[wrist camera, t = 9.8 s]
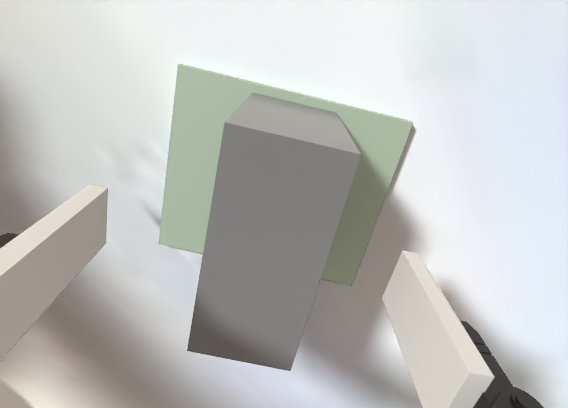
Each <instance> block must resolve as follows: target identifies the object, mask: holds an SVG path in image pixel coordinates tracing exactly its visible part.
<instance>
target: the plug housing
mask: <svg viewBox="0 0 568 408" xmlns="http://www.w3.org/2000/svg"><path fill="white" fill-rule="evenodd" d="M360 156H361V153H360V152H359V150H358V148H357V147H356V145H355V143H354V142H353V140H352V138H351V137H350V135H349V133H348V131H347V130H346V128H345V126H344V125H343V123H342V121H341V120H340V118H339V116H338V115H337V113H336V112H332V111H328V110H324V109H320V108H315V107H311V106H307V105H303V104H299V103H295V102H291V101H287V100H282V99H278V98H274V97H270V96H266V95H262V94H258V93H254V92H253V93H252V94H251V95H250V96H249V97H248V98H247V99H246V100H245V101H244V102H243V103H242V104H241V105H240V106H239V107H238V109H237V110H236V111H235V112H234V113H233V114H232V115H231V116H230V117H229V118H228V119H227V120H226V121H225V122H224V129H223V135H222V141H221V147H220V153H219V159H218V165H217V171H216V178H215V184H214V190H213V196H212V202H211V208H210V214H209V220H208V227H207V233H206V239H205V245H204V251H203V257H202V263H201V269H200V276H199V282H198V288H197V294H196V300H195V306H194V312H193V318H192V325H191V331H190V337H189V343H188V349H187V351H191V352H196V353H201V354H206V355H211V356H216V357H222V358H227V359H232V360H237V361H242V362H247V363H252V364H257V365H262V366H267V367H273V368H278V369H283V370H288V371H291V368H292V365H293V361H294V358H295V355H296V352H297V349H298V346H299V343H300V340H301V337H302V334H303V331H304V328H305V325H306V322H307V319H308V316H309V313H310V309H311V306H312V303H313V300H314V297H315V294H316V291H317V288H318V285H319V282H320V279H321V276H322V273H323V270H324V267H325V264H326V260H327V257H328V254H329V251H330V248H331V245H332V242H333V239H334V236H335V233H336V230H337V227H338V224H339V221H340V218H341V215H342V212H343V208H344V205H345V202H346V199H347V196H348V193H349V190H350V187H351V184H352V181H353V178H354V175H355V172H356V169H357V166H358V163H359V160H360Z"/></svg>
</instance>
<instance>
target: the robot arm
mask: <svg viewBox="0 0 568 408" xmlns="http://www.w3.org/2000/svg"><path fill="white" fill-rule="evenodd" d="M107 197H108V188H106V187H101V186H96V185H91V184H89V185H87V186H86V187H84V188H83V189H82V190H80V191H79V192H78V193H76V194H75V195H73V196H72V197H71V198H69V199H68V200H67V201H65V202H64V203H62V204H61V205H60V206H58V207H57V208H55V209H54V210H53V211H51V212H50V213H49V214H47V215H46V216H44V217H43V218H42V219H40V220H39V221H38V222H36V223H35V224H33V225H32V226H31V227H29V228H28V229H26V230H25V231H24V232H22V233H21V234H20V235H17V234H12V233H7V234H4V235H2V236H0V361H1V360H2V358H3V357H4V356H5V355H6V354H7V353H8V352H9V351H10V350H11V348H12V347H13V346H14V345H15V344H16V343H17V342H18V341H19V340H20V338H21V337H22V336H23V335H24V334H25V333H26V332H27V331H28V329H29V328H30V327H31V326H32V325H33V324H34V323H35V322H36V321H37V319H38V318H39V317H40V316H41V315H42V314H43V313H44V312H45V310H46V309H47V308H48V307H49V306H50V305H51V304H52V303H53V302H54V300H55V299H56V298H57V297H58V296H59V295H60V294H61V293H62V292H63V290H64V289H65V288H66V287H67V286H68V285H69V284H70V283H71V281H72V280H73V279H74V278H75V277H76V276H77V275H78V274H79V273H80V271H81V270H82V269H83V268H84V267H85V266H86V265H87V264H88V262H89V261H90V260H91V259H92V258H93V257H94V256H95V255H96V254H97V252H98V251H99V250H100V249H101V248H102V247H103V246H104V245H105V244H106V224H107ZM382 300H383V302H384V305H385V308H386V310H387V313H388V316H389V319H390V321H391V324H392V327H393V329H394V332H395V335H396V338H397V340H398V343H399V346H400V348H401V351H402V354H403V357H404V359H405V362H406V365H407V367H408V370H409V373H410V375H411V378H412V381H413V384H414V386H415V389H416V392H417V394H418V397H419V400H420V403H421V405H422V408H543V407H542V405H541V404H540V403H539V402H538V401H537V400H536V399H534V398H533V397H532V396H531V395H529V394H528V393H526V392H524V391H522V390H521V389H519V388H515V387H513V386H512V384H511V383H510V381H509V379H508V378H507V376H506V375H505V373H504V372H503V370H502V369H501V367H500V366H499V364H498V363H497V361H496V360H495V358H494V357H493V356H491V354H492V353H491V352H490V350H489V349H488V347H487V346H485V343H484V341H483V340H482V338H481V337H480V335H479V334H478V332H477V331H476V330H474V329H473V328H472V327H471V326H470V325H469V324H468V323H467V322H464V321H460V320H459V319H458V317H457V316H456V314H455V312H454V311H453V309H452V307H451V306H450V304H449V303H448V301H447V299H446V298H445V296H444V294H443V293H442V291H441V290H440V288H439V286H438V285H437V283H436V281H435V280H434V278H433V277H432V275H431V273H430V272H429V270H428V268H427V267H426V265H425V264H424V262H423V260H422V259H421V257H420V256H419V254H417V253H413V252H408V251H403V250H402V253H401V255H400V257H399V260H398V262H397V264H396V267H395V269H394V271H393V274H392V276H391V278H390V281H389V283H388V285H387V287H386V290H385V292H384V294H383V297H382Z"/></svg>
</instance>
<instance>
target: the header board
mask: <svg viewBox="0 0 568 408" xmlns="http://www.w3.org/2000/svg"><path fill="white" fill-rule="evenodd" d="M253 92H254V93H258V94H262V95H266V96H270V97H274V98H278V99H282V100H287V101H291V102H295V103H299V104H303V105H307V106H311V107H315V108H320V109H324V110H328V111H332V112H336V113H337V115H338V116H339V118H340V120H341V121H342V123H343V125H344V126H345V128H346V130H347V131H348V133H349V135H350V137H351V138H352V140H353V142H354V143H355V145H356V147H357V148H358V150H359V152H360V153H361V156H360V160H359V163H358V166H357V169H356V172H355V175H354V178H353V181H352V184H351V187H350V190H349V193H348V196H347V199H346V202H345V205H344V208H343V212H342V215H341V218H340V221H339V224H338V227H337V230H336V233H335V236H334V239H333V242H332V245H331V248H330V251H329V254H328V257H327V260H326V264H325V267H324V270H323V273H322V276H321V279H323V280H327V281H332V282H337V283H341V284H346V285H350V286H352V284H353V281H354V279H355V276H356V274H357V271H358V268H359V266H360V263H361V260H362V258H363V255H364V252H365V250H366V247H367V244H368V242H369V239H370V236H371V234H372V231H373V228H374V226H375V223H376V221H377V218H378V215H379V213H380V210H381V207H382V205H383V202H384V199H385V197H386V194H387V191H388V189H389V186H390V183H391V181H392V178H393V175H394V173H395V170H396V167H397V165H398V162H399V160H400V157H401V154H402V152H403V149H404V146H405V144H406V141H407V138H408V136H409V133H410V130H411V128H412V125H413V122H411V121H408V120H404V119H400V118H396V117H392V116H388V115H384V114H380V113H376V112H372V111H368V110H364V109H360V108H356V107H352V106H348V105H344V104H340V103H336V102H332V101H328V100H324V99H320V98H316V97H312V96H308V95H304V94H300V93H296V92H292V91H288V90H283V89H279V88H275V87H271V86H267V85H263V84H259V83H255V82H251V81H247V80H243V79H239V78H235V77H231V76H227V75H223V74H219V73H215V72H211V71H207V70H203V69H199V68H195V67H191V66H187V65H183V64H179V65H178V70H177V79H176V88H175V98H174V107H173V116H172V125H171V135H170V144H169V153H168V162H167V171H166V181H165V190H164V199H163V208H162V218H161V227H160V236H159V244H161V245H165V246H170V247H175V248H179V249H184V250H189V251H193V252H198V253H202V254H203V251H204V245H205V239H206V233H207V227H208V220H209V214H210V208H211V202H212V196H213V190H214V184H215V178H216V171H217V165H218V159H219V153H220V147H221V141H222V135H223V129H224V122H225V121H226V120H227V119H228V118H229V117H230V116H231V115H232V114H233V113H234V112H235V111H236V110H237V109H238V107H239V106H240V105H241V104H242V103H243V102H244V101H245V100H246V99H247V98H248V97H249V96H250V95H251V94H252V93H253Z"/></svg>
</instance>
